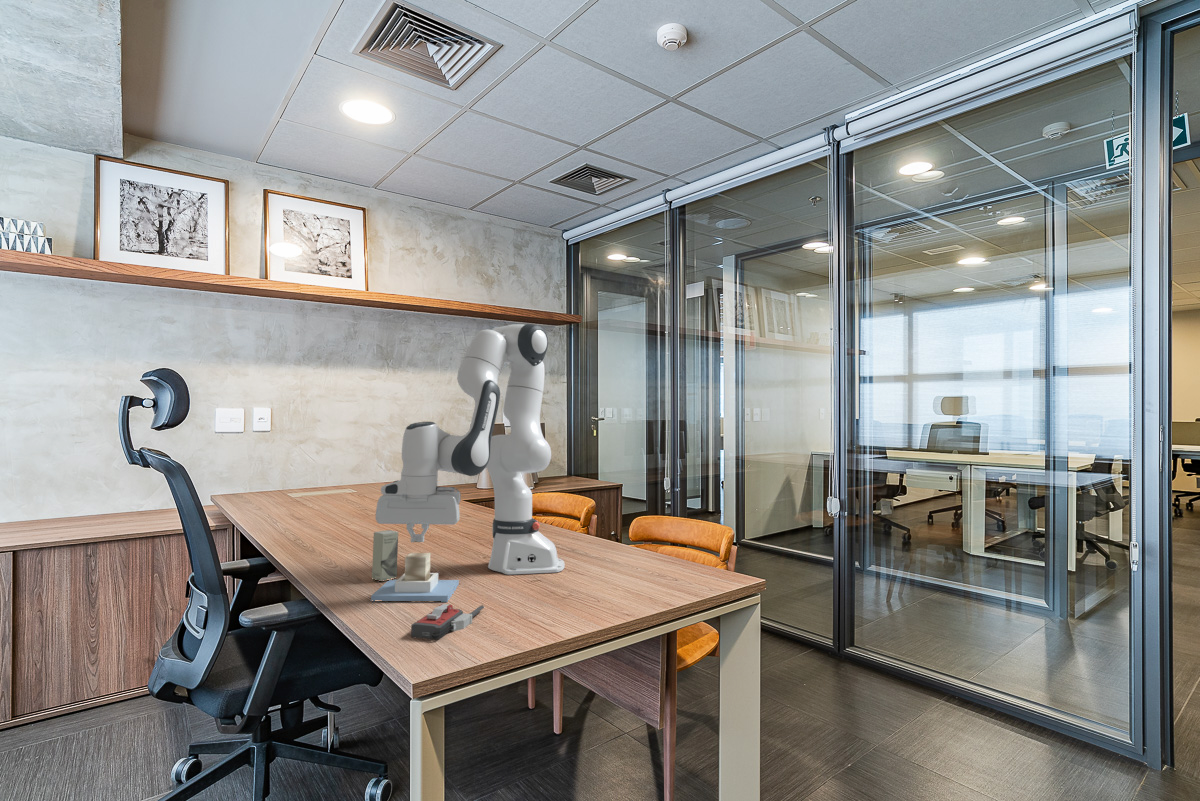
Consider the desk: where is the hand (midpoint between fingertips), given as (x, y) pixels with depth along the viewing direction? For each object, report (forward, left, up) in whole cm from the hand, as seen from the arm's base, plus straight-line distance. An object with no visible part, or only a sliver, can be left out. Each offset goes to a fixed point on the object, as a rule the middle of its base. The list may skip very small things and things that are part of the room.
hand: (417, 541), depth 151 cm
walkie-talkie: (-13, +22, -14) cm, 29 cm away
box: (+12, -13, -13) cm, 22 cm away
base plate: (0, 0, -13) cm, 13 cm away
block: (0, 0, -11) cm, 11 cm away
